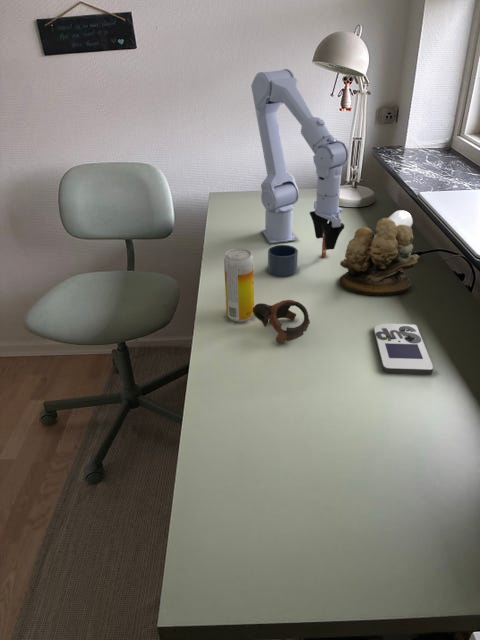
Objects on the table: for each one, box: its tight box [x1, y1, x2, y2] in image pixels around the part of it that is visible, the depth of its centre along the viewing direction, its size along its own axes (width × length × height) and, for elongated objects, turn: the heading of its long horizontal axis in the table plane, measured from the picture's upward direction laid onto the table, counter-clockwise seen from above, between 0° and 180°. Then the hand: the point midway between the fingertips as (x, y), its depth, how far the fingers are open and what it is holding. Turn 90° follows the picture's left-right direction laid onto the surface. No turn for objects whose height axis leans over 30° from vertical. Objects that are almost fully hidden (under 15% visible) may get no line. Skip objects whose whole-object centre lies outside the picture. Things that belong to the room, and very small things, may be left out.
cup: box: [267, 244, 299, 278], centre depth 124 cm, size 7×7×6 cm
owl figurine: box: [339, 217, 420, 297], centre depth 113 cm, size 18×12×17 cm, turn 87°
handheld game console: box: [373, 323, 434, 375], centre depth 95 cm, size 9×15×1 cm, turn 175°
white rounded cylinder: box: [374, 209, 414, 236], centre depth 137 cm, size 7×7×15 cm
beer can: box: [223, 248, 255, 323], centre depth 103 cm, size 6×6×15 cm
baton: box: [321, 232, 327, 259], centre depth 130 cm, size 1×1×8 cm
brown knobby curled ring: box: [253, 299, 311, 345], centre depth 100 cm, size 12×10×8 cm
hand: (324, 243), depth 130 cm, fingers open, 7 cm apart
